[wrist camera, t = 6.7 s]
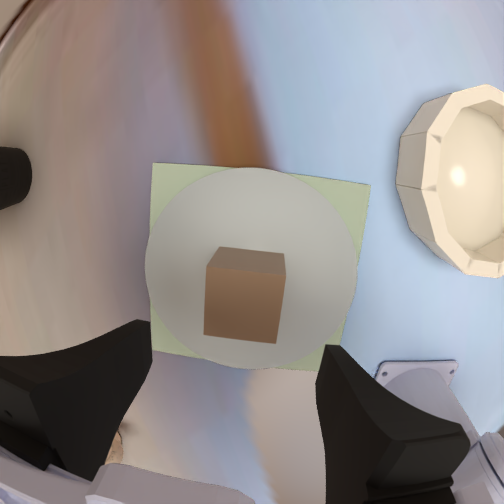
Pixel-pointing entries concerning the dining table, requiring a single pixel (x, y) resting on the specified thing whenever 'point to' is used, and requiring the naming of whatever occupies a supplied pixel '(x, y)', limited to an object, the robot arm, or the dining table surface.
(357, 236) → the mat
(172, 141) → the dining table surface
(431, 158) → the bowl
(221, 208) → the cover
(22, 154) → the drinking cup
